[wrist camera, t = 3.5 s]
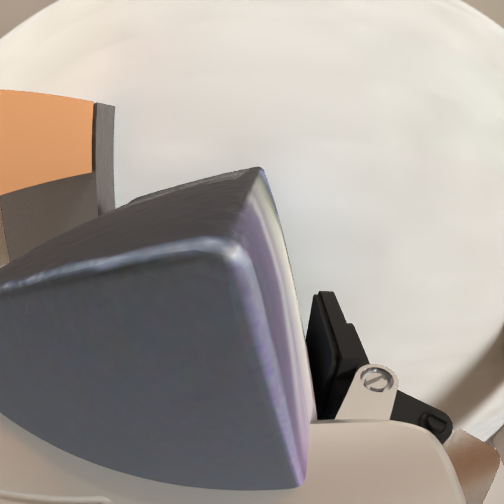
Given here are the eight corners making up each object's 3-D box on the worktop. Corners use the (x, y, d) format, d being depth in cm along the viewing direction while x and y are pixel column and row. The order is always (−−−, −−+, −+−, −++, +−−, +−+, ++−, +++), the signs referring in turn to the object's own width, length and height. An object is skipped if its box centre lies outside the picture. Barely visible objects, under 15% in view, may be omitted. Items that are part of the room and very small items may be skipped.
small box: (307, 360, 14) (328, 544, 4) (197, 373, 15) (152, 535, 5) (270, 160, 11) (300, 224, 1) (130, 198, 12) (-76, 312, 2)
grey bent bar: (114, 106, 10) (-71, 90, 1) (150, 396, 16) (106, 509, 7) (15, 133, 10) (-110, 157, 2) (65, 371, 17) (9, 453, 8)
